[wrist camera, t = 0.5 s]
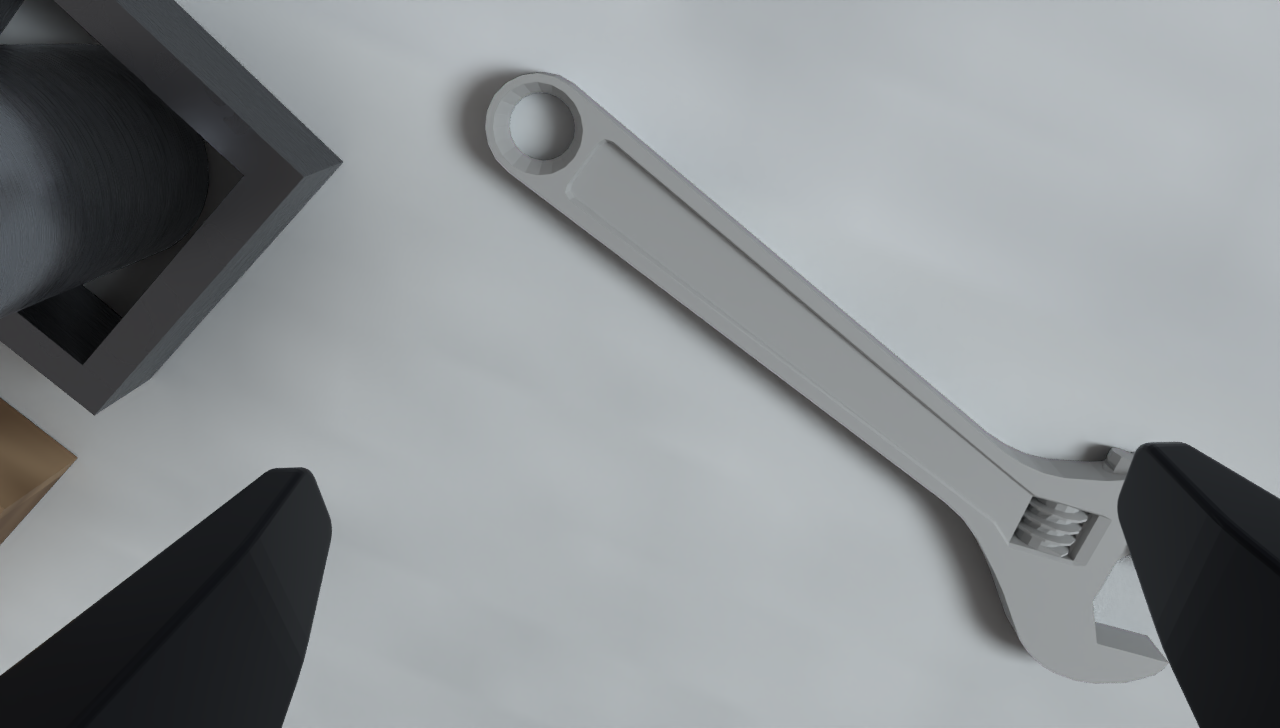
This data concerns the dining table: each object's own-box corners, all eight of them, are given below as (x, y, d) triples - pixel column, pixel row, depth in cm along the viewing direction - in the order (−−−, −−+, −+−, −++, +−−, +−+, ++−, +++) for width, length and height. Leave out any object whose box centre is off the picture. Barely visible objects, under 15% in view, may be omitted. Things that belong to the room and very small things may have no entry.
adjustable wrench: (472, 131, 22) (456, 138, 21) (639, -69, 20) (635, -80, 19) (1068, 675, 28) (1093, 715, 26) (1243, 553, 26) (1282, 588, 24)
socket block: (343, 162, 22) (304, 177, 20) (149, 379, 25) (94, 415, 22) (47, -121, 20) (-36, -142, 18) (-132, 148, 22) (-225, 161, 20)
